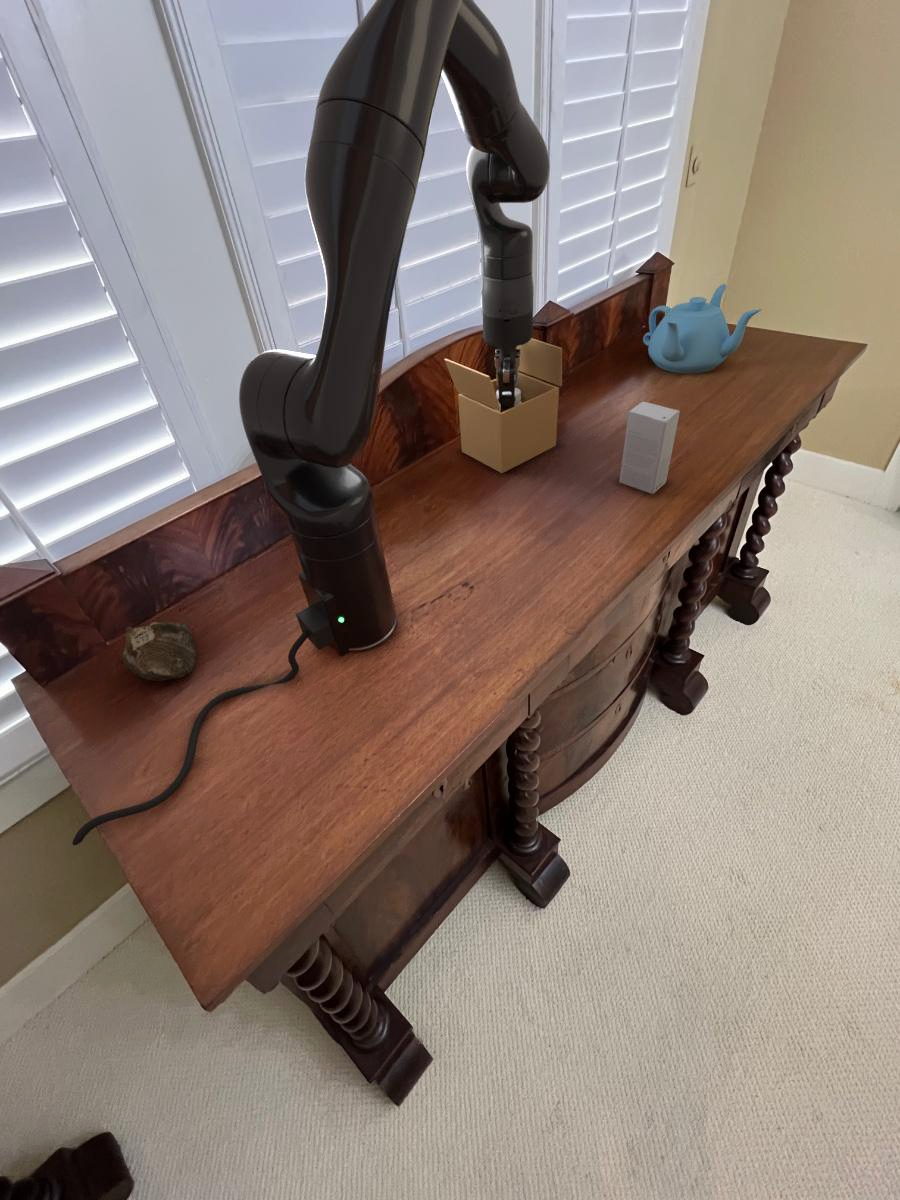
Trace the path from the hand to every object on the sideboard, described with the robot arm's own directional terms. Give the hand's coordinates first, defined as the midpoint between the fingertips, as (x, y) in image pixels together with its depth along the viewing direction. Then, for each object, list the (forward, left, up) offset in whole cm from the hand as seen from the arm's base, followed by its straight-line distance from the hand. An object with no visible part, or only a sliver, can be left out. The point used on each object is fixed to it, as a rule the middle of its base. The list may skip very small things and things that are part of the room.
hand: (507, 415), depth 98 cm
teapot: (+51, -1, -7) cm, 52 cm away
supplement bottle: (0, 0, -5) cm, 5 cm away
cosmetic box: (+7, -23, -7) cm, 25 cm away
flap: (-7, 0, +8) cm, 10 cm away
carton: (0, 0, -6) cm, 6 cm away
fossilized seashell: (-64, -8, -7) cm, 65 cm away
